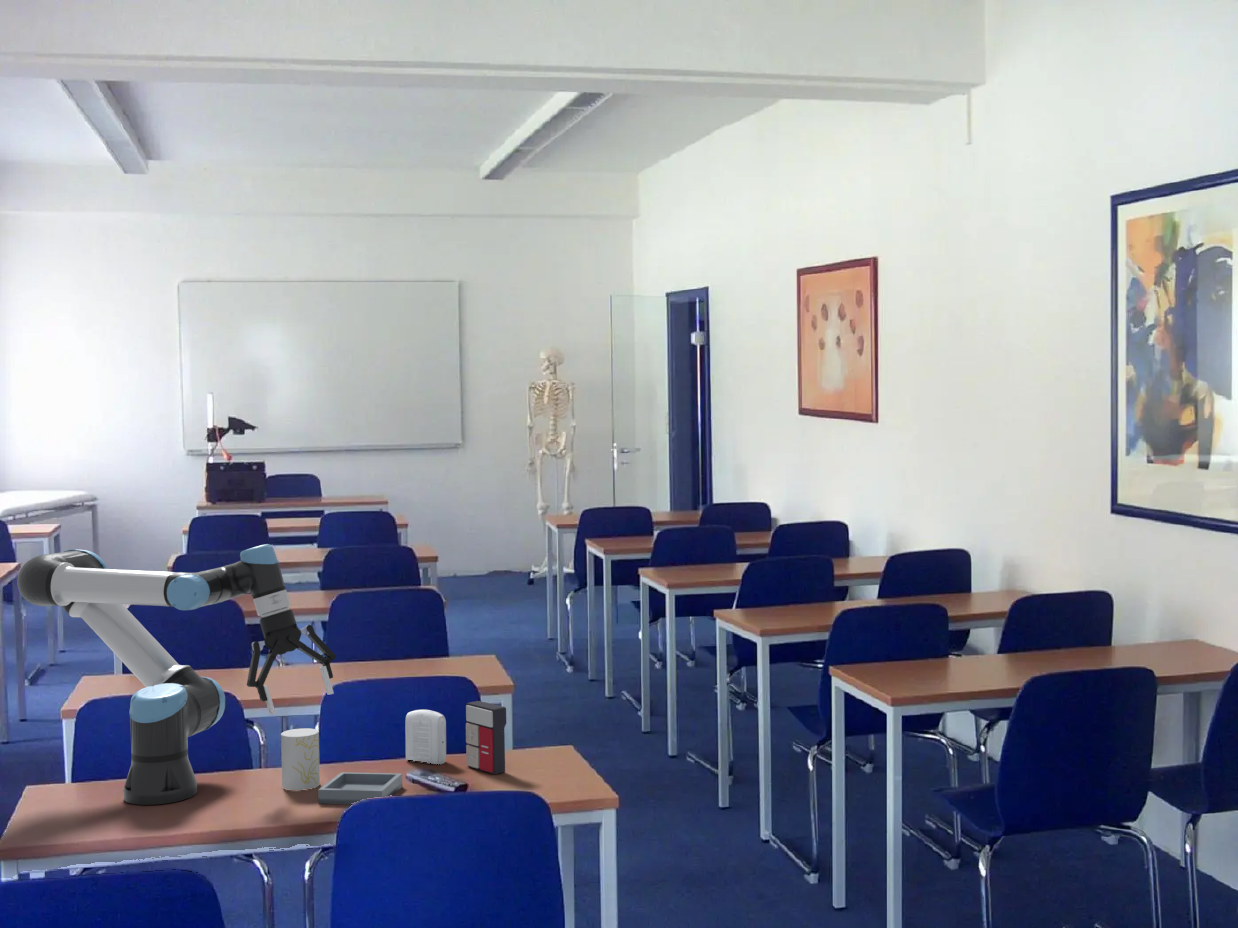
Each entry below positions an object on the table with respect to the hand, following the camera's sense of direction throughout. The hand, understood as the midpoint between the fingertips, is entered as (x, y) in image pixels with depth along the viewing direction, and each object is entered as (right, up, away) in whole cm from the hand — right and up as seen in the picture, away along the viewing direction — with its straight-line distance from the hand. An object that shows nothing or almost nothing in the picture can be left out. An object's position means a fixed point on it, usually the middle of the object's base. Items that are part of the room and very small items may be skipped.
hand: (302, 704), depth 290 cm
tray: (+15, -18, -9) cm, 25 cm away
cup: (0, -18, -1) cm, 18 cm away
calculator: (+40, -17, +10) cm, 45 cm away
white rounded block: (+25, -17, +19) cm, 36 cm away
